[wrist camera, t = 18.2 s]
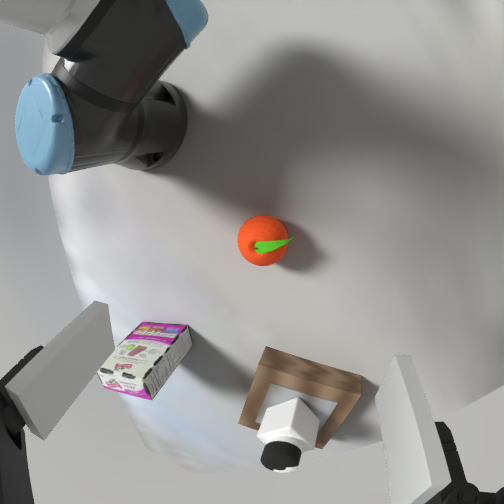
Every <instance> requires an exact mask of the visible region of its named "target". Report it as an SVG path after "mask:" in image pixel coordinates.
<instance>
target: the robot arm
mask: <svg viewBox="0 0 504 504" xmlns="http://www.w3.org/2000/svg"><path fill="white" fill-rule="evenodd" d="M0 22H2V23H6V24H9V25H13V26H17V27H20V28H24V29H27V30H30V31H34V32H37V33H40V34H43V35H44V36H45V38H46V41H47V44H48V47H49V51H50V53H52V54H54V55H57V56H60V57H61V58H60V59H59V61H58V63H57V64H56V66H55V68H54V69H53V71H52V73H51V74H48V73H42V74H41V75H37V76H35V77H34V78H33V79H31V80H29V81H28V83H27V84H26V85H25V87H24V89H23V90H22V92H21V95H20V97H19V101H18V104H17V109H16V118H15V130H16V139H17V144H18V148H19V151H20V154H21V156H22V158H23V160H24V162H25V164H26V165H27V166H28V167H29V168H30V169H31V170H32V171H33V172H35V173H37V174H39V175H51V174H66V173H68V172H72V171H77V170H82V169H86V168H91V167H96V166H101V165H106V164H112V163H115V164H117V165H120V166H123V167H126V168H129V169H133V170H145V169H151V168H155V167H158V166H160V165H162V164H164V163H165V162H167V161H168V160H169V159H170V158H171V157H172V156H173V155H174V154H175V153H176V151H177V150H178V148H179V147H180V145H181V143H182V140H183V138H184V135H185V131H186V124H187V115H186V108H185V105H184V102H183V99H182V97H181V96H180V94H179V93H178V91H177V90H176V89H175V88H174V87H173V86H171V85H170V84H168V83H166V82H164V81H161V80H158V79H159V78H160V77H161V76H162V75H163V73H164V72H165V71H166V70H167V69H168V67H169V66H170V65H171V64H172V63H173V62H174V61H175V59H176V58H177V57H178V56H179V55H180V54H181V53H182V52H183V51H184V49H188V48H189V47H190V44H191V42H192V41H193V40H194V39H195V37H196V36H197V35H198V34H199V33H200V32H201V31H202V30H203V29H204V27H205V26H206V24H207V22H208V13H207V10H206V8H205V6H204V5H203V4H202V2H201V1H200V0H0ZM114 350H115V346H114V340H113V335H112V329H111V322H110V316H109V309H108V304H105V303H101V302H98V301H94V302H93V303H92V304H91V305H90V306H89V307H87V308H86V309H85V310H84V311H83V312H82V313H81V314H80V315H79V316H77V317H76V318H75V319H74V320H73V321H72V322H71V323H70V324H69V325H68V326H67V327H65V328H64V329H63V330H62V331H61V332H60V333H59V334H58V335H57V336H56V337H55V338H54V339H52V340H51V341H50V342H49V343H48V344H47V345H46V346H45V347H43V346H39V347H37V348H35V349H33V350H31V351H30V352H29V353H28V354H27V355H26V356H25V357H24V359H21V360H20V361H19V362H18V364H16V365H15V366H14V367H13V368H12V369H11V370H10V371H9V372H8V373H7V374H6V375H5V376H4V377H3V378H2V379H1V380H0V504H34V499H33V494H32V488H31V483H30V477H29V469H28V462H27V455H26V443H25V433H24V429H23V427H24V426H25V424H26V425H27V426H28V428H29V429H30V431H31V432H32V433H33V434H35V435H36V436H38V437H40V438H41V439H43V440H45V439H46V438H47V436H48V435H49V433H50V432H51V431H52V429H53V428H54V427H55V426H56V424H57V423H58V422H59V420H60V419H61V418H62V416H63V415H64V414H65V412H66V411H67V410H68V408H69V407H70V406H71V405H72V403H73V402H74V401H75V399H76V398H77V397H78V395H79V394H80V393H81V392H82V390H83V389H84V388H85V387H86V385H87V384H88V383H89V381H90V380H91V379H92V377H93V376H94V375H95V374H96V373H97V371H98V370H99V369H100V368H101V366H102V365H103V364H104V363H105V361H106V360H107V359H108V358H109V356H110V355H111V354H112V353H113V352H114ZM375 402H376V407H377V412H378V418H379V423H380V429H381V435H382V441H383V447H384V453H385V459H386V467H387V475H388V482H389V490H390V500H391V504H504V487H503V488H501V489H500V490H499V491H498V492H496V493H488V492H479V490H478V488H477V487H476V486H475V485H473V484H471V483H468V482H467V481H466V478H465V474H464V471H463V467H462V464H461V461H460V458H459V454H458V451H456V450H457V448H456V445H455V443H454V439H453V436H452V433H451V431H450V429H449V428H448V427H447V426H446V424H445V423H444V422H434V420H433V417H432V414H431V411H430V408H429V405H428V402H427V399H426V396H425V394H424V391H423V388H422V385H421V383H420V380H419V377H418V375H417V372H416V370H415V367H414V364H413V362H412V359H411V357H410V355H395V356H394V358H393V360H392V362H391V365H390V367H389V369H388V371H387V373H386V375H385V377H384V379H383V382H382V384H381V386H380V388H379V390H378V392H377V394H376V396H375Z"/></svg>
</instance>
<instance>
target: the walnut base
mask: <svg viewBox="0 0 504 504" xmlns="http://www.w3.org/2000/svg"><path fill="white" fill-rule="evenodd" d="M361 385H362V376H361V375H357V374H353V373H350V372H346V371H343V370H339V369H336V368H332V367H329V366H325V365H322V364H319V363H316V362H312V361H309V360H306V359H303V358H300V357H296V356H293V355H290V354H287V353H284V352H281V351H278V350H275V349H272V348H269V347H267V346H266V348H265V350H264V352H263V355H262V357H261V359H260V362H259V364H258V367H257V370H256V373H255V376H254V379H253V382H252V385H251V388H250V391H249V394H248V397H247V400H246V402H245V405H244V408H243V411H242V414H241V417H240V420H239V422H238V424H241V425H244V426H247V427H249V428H252V429H255V430H258V431H259V428H260V426H261V423H262V420H263V418H264V415H265V412H266V409H267V408H269V407H272V406H275V405H278V404H280V403H283V402H286V401H289V400H291V399H294V398H297V397H299V398H300V399H301V400H302V401H303V402H304V403H305V404H306V406H307V407H308V408H309V409H310V410H311V411H312V412H313V413H314V414H315V415H316V416H317V417H318V418H319V419H320V421H319V427H318V432H317V437H316V442H315V447H316V448H320V449H323V447H324V446H325V445H326V444H327V442H328V441H329V440H330V438H331V437H332V436H333V434H334V433H335V432H336V430H337V429H338V428H339V426H340V425H341V424H342V422H343V421H344V420H345V418H346V417H347V415H348V414H349V412H350V411H351V410H352V408H353V407H354V405H355V404H356V402H357V401H358V399H359V398H360V396H361Z"/></svg>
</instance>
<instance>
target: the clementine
mask: <svg viewBox="0 0 504 504" xmlns="http://www.w3.org/2000/svg"><path fill="white" fill-rule="evenodd" d="M293 238H294V237H293ZM293 238H290V239H288V233H287V230H286V228H285V227H284V225H283V224H282V223H281V222H280V221H279V220H278V219H276V218H274V217H272V216H268V215H258V216H255V217H252V218H250V219H249V220H247V221H246V222H245V223H244V224H243V226H242V227H241V229H240V231H239V234H238V247H239V250H240V252H241V254H242V255H243V257H244V258H245V259H246V260H247V261H249V262H250V263H252V264H255V265H259V266H268V265H271V264H274V263H276V262H277V261H279V260H280V259H281V258H282V257H283V256H284V255H285V252H286V250H287V247H288V242H289V241H291V240H292V239H293Z"/></svg>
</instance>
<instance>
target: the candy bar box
mask: <svg viewBox="0 0 504 504" xmlns="http://www.w3.org/2000/svg"><path fill="white" fill-rule="evenodd" d="M192 346H193V342H192V339H191V336H190V332H189V329H188V325H180V324H162V323H150V322H142V323H141V324H140V325H139V326H138V327H137V328H136V329H134V330H133V331H132V332H131V333H130V334H129V335H128V336H127V337H126V338H125V339H124V340H123V341H122V342H121V343H120V344H119V345H118V346H117V347H116V348H115V350H114V352H113V353H112V354H111V355H110V356H109V358H108V359H107V360H106V361H105V363H104V364H103V365H102V366H101V368H100V369H99V370H98V371H97V374H98V376H99V378H100V380H101V381H102V385H103V386H104V388H107V389H110V390H114V391H117V392H121V393H125V394H129V395H132V396H136V397H140V398H144V399H149V400H153V398H154V397H155V396H156V394H157V393H158V392H159V390H160V389H161V388H162V386H163V385H164V384H165V382H166V381H167V379H168V378H169V377H170V375H171V374H172V372H173V371H174V370H175V369H176V367H177V366H178V364H179V363H180V362H181V360H182V359H183V358H184V356H185V355H186V354H187V352H188V351H189V350H190V348H191V347H192Z"/></svg>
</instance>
